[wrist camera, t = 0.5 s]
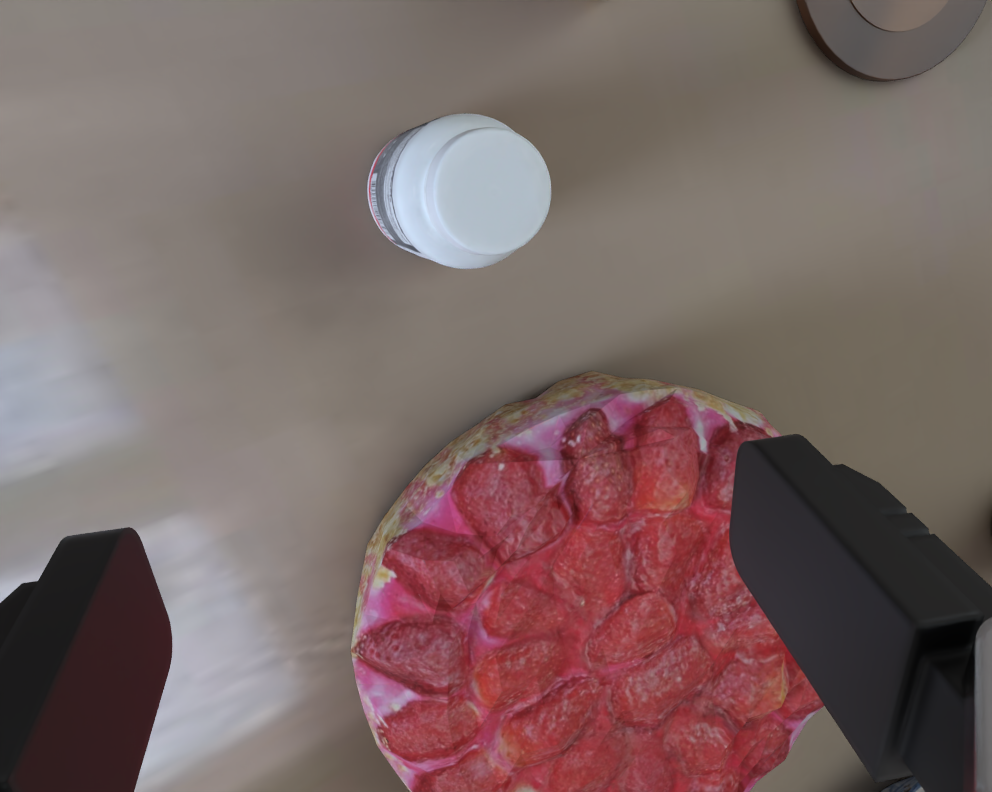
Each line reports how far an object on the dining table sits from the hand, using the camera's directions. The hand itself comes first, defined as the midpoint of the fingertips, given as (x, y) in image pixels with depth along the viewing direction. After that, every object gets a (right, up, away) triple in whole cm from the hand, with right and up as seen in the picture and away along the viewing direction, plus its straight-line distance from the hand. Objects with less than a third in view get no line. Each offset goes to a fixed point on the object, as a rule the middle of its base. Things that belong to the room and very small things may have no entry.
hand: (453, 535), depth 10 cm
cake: (+5, -9, +31) cm, 33 cm away
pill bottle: (-3, +11, +23) cm, 26 cm away
